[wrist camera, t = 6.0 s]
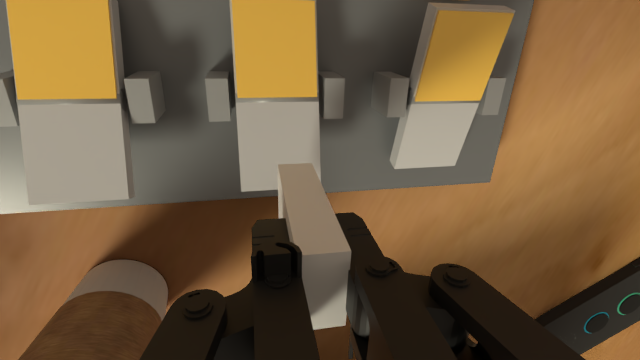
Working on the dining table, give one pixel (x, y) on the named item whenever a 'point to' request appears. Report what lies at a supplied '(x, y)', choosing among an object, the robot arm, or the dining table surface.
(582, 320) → the smart home device
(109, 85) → the switch
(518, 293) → the dining table surface
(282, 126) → the switch
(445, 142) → the switch
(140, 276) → the coffee cup
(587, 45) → the dining table surface
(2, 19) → the switch panel
